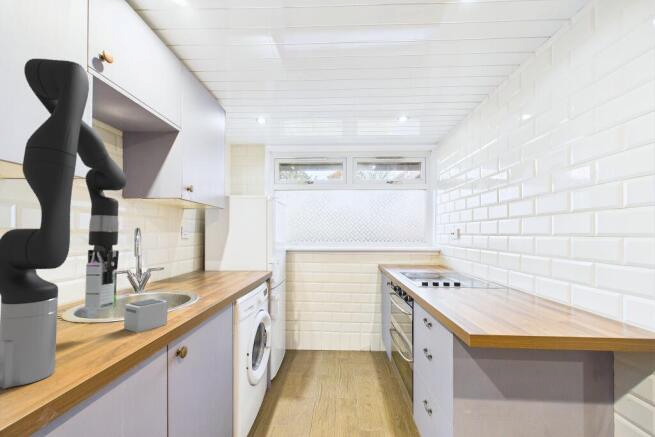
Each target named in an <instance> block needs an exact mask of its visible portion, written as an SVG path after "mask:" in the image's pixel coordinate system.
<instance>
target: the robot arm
mask: <svg viewBox="0 0 655 437" xmlns="http://www.w3.org/2000/svg"><path fill="white" fill-rule="evenodd" d="M23 70H24V76H25V80H26V82H27V83H28V86H29V87H30V89H31V90H32V92H33V93H34V95H35V96H36V97H37V99H38V100H39V101H40V103H41V104H42V105H43V107H44V108H45V109H46V110H47V112H48V113H49V114H50V116H48V118H47V119H46V120H45V121H44V122H43V123H42V124H41V125H40V126H39V127H37V129H36V130H35V131H34V132H33V133H32V134H31V135H30V137H28V140H27V141H26V143H25V148H24V154H23V161H22V174H23V176H24V179H25V180H26V182H27V183H28V186H29V187H30V188H31V190H32V192H33V193H34V194H35V197H36V199H37V200H38V202H39V206H40V210H41V211H40V212H41V213H40V214H41V218H40V226H39V228H14V229H10V230H8V231H6V232H4V233H3V234H2V236H1V237H0V388H1V389H3V390H4V389H7V388H11V387H17V386H24V385H27V384H31V383H32V384H33V383H35V382H37V381H41V380H43V379H45V378H47V377H50V376H52V374H54V373H55V371H56V360H57V359H56V358H57V357H56V353H57V350H56V349H57V330H58V302H59V301H58V299H59V287H58V285H57V284H55V283H54V282H51V281H48V280H46V279H43V278H42V277H40V276H39V274H38V273H37V270H53V269H57V268H60V267H61V266H62V265H63V264H64V263H65V262H66V260H67V258H68V255H69V253H70V252H69V251H70V247H71V246H70V244H71V204H72V194H73V193H72V192H73V184H74V179H75V174H76V173H75V172H76V167H77V157H78V156H79V158H80V160H81V162H82V164H83V165H84V166H86V168H90V169H89V170H88V171H87V173H86V175H85V183H86V187H87V190H88V193H89V198H90V204H91V206H90V208H91V209H90V219H89V223H88V224H89V226H88V227H89V228H88V243H87V244H88V246H93V249H88V250H87V263H93V262H100V263H102V265H103V270H104V272H103V284H111V283H112V272H113V271H114V270H117V271H118V266H119V265H118V264H119V250H115V249H113V246H117V245H118V244H119V243H118V242H119V200H118V199H116V198H113V197H108V196H106V195H105V192H104V191H115V192H116V191H121V190H123V189H124V188H125V187H126V184H127V177H126V174H125V172H124V171H123V169H122V168H121V167H120V166H119V165H118V164H117V163H116V161H115V160H114V159H113V158H112V157H111V156H110V154H109V152H108V149H107V148H106V146H105V144H104V142H103V139H102V138H101V136H100V135H99V134H98V133H97V132H96V130H95V129H94V128H92V127H91V126H90V125H89V124H88V123H86V122H85V121H84V120H83V117H84V113H85V109H86V105H87V103H88V98H89V90H90V81H89V78H88V75H87V71H86V70H85V68H84V67H83V66H82V65H81V64H80V63H77V62H75V61H70V60H65V59H64V60H63V59H51V58H49V59H48V58H31V59H28V60H27V61H26V63H25V64H24V69H23ZM77 155H78V156H77ZM113 264H114V266H113ZM106 265H107V266H106Z"/></svg>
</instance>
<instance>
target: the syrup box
mask: <svg viewBox="0 0 655 437" xmlns="http://www.w3.org/2000/svg"><path fill="white" fill-rule="evenodd" d="M85 266H86V268H85V270H86V271H85V291H84V292H85V294H84V295H85V296H84V297H85V298H84V311H102V310H105V309H110V308H115V307H116V306H117V278H118V277H117V276H118V275H117V274H118V269H117V270H114V271H113V272H112V283H111V284H103V272H104V270H103V265H102V263H100V262H93V263H88V262H87V263H86V265H85ZM106 266H107V265H106ZM113 266H114V264H113Z"/></svg>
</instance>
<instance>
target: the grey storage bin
mask: <svg viewBox="0 0 655 437" xmlns="http://www.w3.org/2000/svg"><path fill="white" fill-rule="evenodd" d="M123 315H124V317H123V318H124V319H123V321H124V322H123V329H124V330H128V331H130V332H134V333H137V334H139V333H142V332H146V331H149V330H152V329H155V328H160V327H162V326H166V325H168V300H163V299H162V300H161V299H158V298H157V299H156V298H150V299H144V300H139V301H134V302H130V303H126V304H124V314H123Z"/></svg>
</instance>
